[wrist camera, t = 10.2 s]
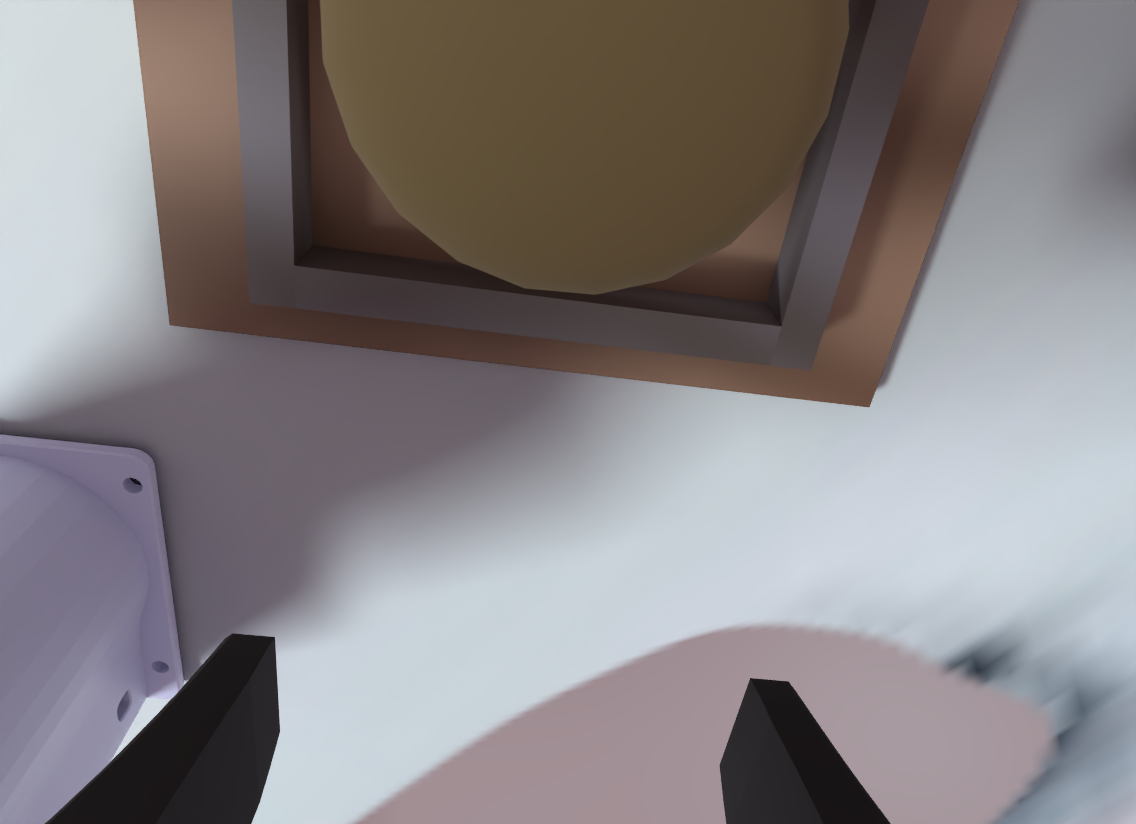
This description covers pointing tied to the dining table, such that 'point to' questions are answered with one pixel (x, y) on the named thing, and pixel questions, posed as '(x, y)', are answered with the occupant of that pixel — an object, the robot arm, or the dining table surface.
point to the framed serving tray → (540, 317)
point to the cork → (582, 124)
